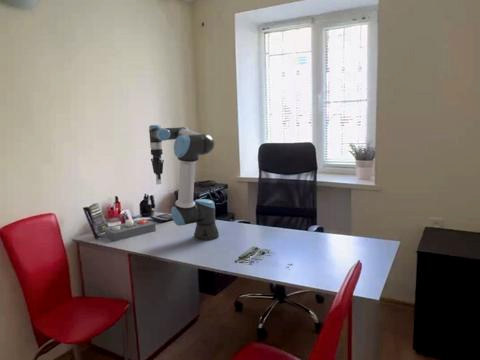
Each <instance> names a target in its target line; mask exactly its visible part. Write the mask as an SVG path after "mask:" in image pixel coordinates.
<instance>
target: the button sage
mask: <svg viewBox="0 0 480 360" xmlns="http://www.w3.org/2000/svg"><path fill="white" fill-rule="evenodd" d="M112 226H113V227H112V230H113V231H115V230H120V226H115V225H112Z"/></svg>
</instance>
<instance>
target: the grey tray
mask: <svg viewBox="0 0 480 360" xmlns="http://www.w3.org/2000/svg"><path fill="white" fill-rule="evenodd" d="M140 220H146V223H145V224H141V225H140V224H139V223H138V221H140ZM133 223H134V226H132V227H128V228H127V227H126V225H125V222H124V223H120V224H115V225H111V226H107V227H103V228H104V229H103V232H104V231H105V236H104V237H106V238H108V239H109V240H111V241H113V242H117V241H121V240H125V239H129V238H134V237H137V236H141V235H145V234H148V233H149V234H150V233H152V232H156V231H157V230H156V223H154V222H152V221H150V220H148V219H145V218H142V219H138V220H137V219H136V220H133ZM113 226H120V230H115V231H113V230H112V227H113Z"/></svg>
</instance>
